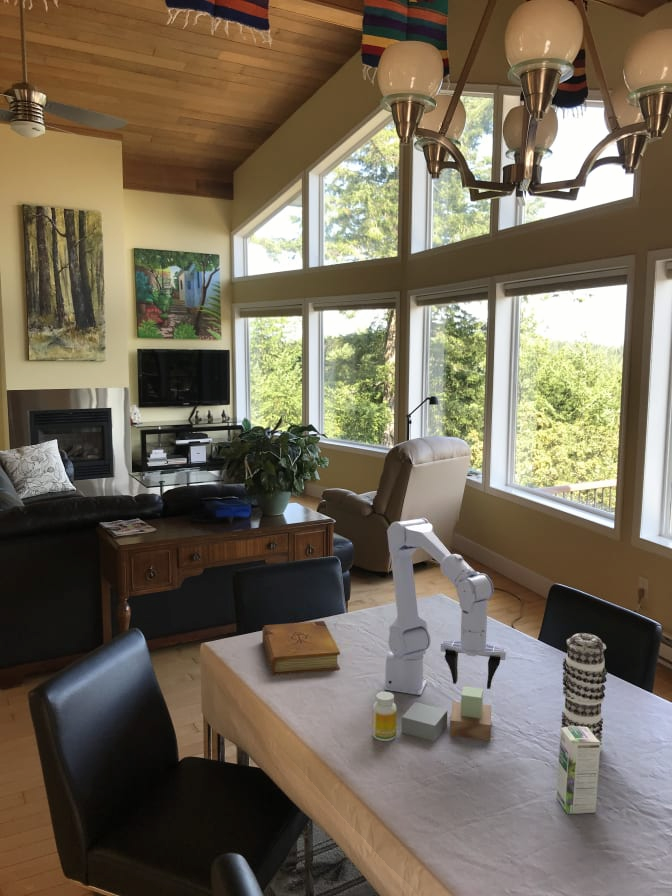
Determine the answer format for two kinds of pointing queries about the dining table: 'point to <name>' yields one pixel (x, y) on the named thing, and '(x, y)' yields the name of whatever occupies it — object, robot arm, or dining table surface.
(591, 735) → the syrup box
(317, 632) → the diary
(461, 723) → the walnut block
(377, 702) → the supplement bottle
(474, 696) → the sage block
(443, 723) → the slate block
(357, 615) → the dining table surface
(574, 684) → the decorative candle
